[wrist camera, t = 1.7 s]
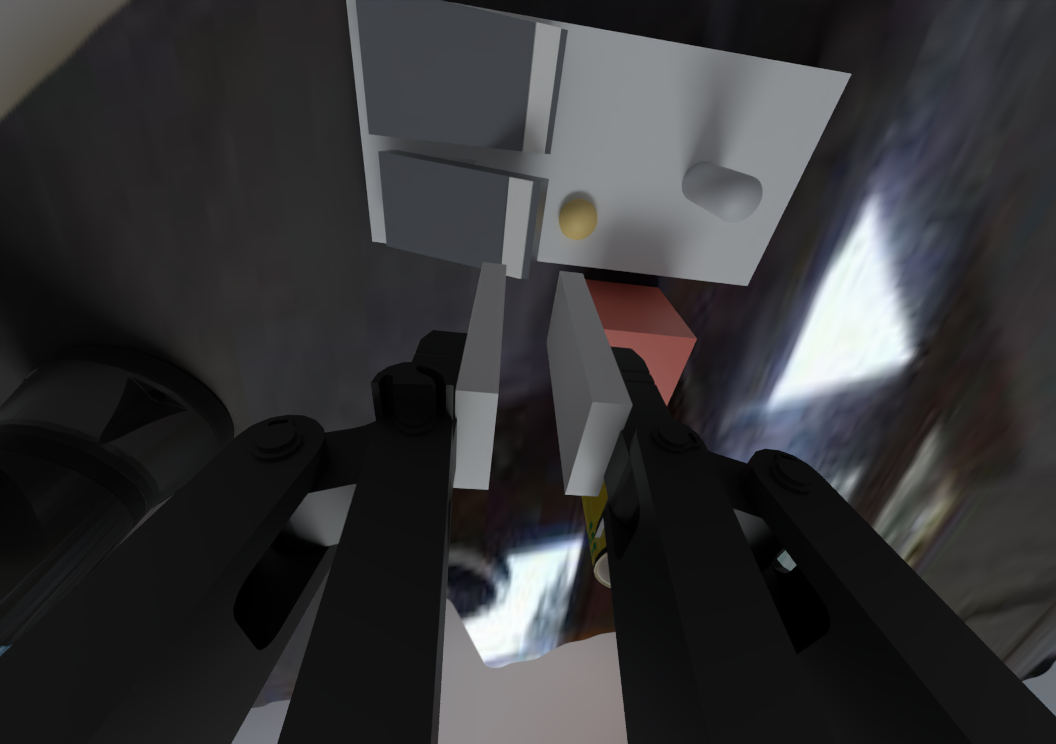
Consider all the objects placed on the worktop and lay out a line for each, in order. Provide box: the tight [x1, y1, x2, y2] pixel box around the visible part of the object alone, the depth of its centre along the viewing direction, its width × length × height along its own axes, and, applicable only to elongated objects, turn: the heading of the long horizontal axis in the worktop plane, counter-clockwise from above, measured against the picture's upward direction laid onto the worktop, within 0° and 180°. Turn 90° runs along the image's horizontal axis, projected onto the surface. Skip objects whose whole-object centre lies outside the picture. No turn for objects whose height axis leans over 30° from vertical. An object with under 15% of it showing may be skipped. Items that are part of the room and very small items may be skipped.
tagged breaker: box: [378, 150, 549, 279], centre depth 21 cm, size 9×5×2 cm, turn 83°
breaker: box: [356, 0, 568, 154], centre depth 18 cm, size 9×5×2 cm, turn 82°
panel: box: [346, 0, 851, 286], centre depth 22 cm, size 26×12×8 cm, turn 83°
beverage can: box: [582, 482, 611, 588], centre depth 37 cm, size 9×9×12 cm
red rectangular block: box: [585, 279, 697, 406], centre depth 28 cm, size 6×6×8 cm
